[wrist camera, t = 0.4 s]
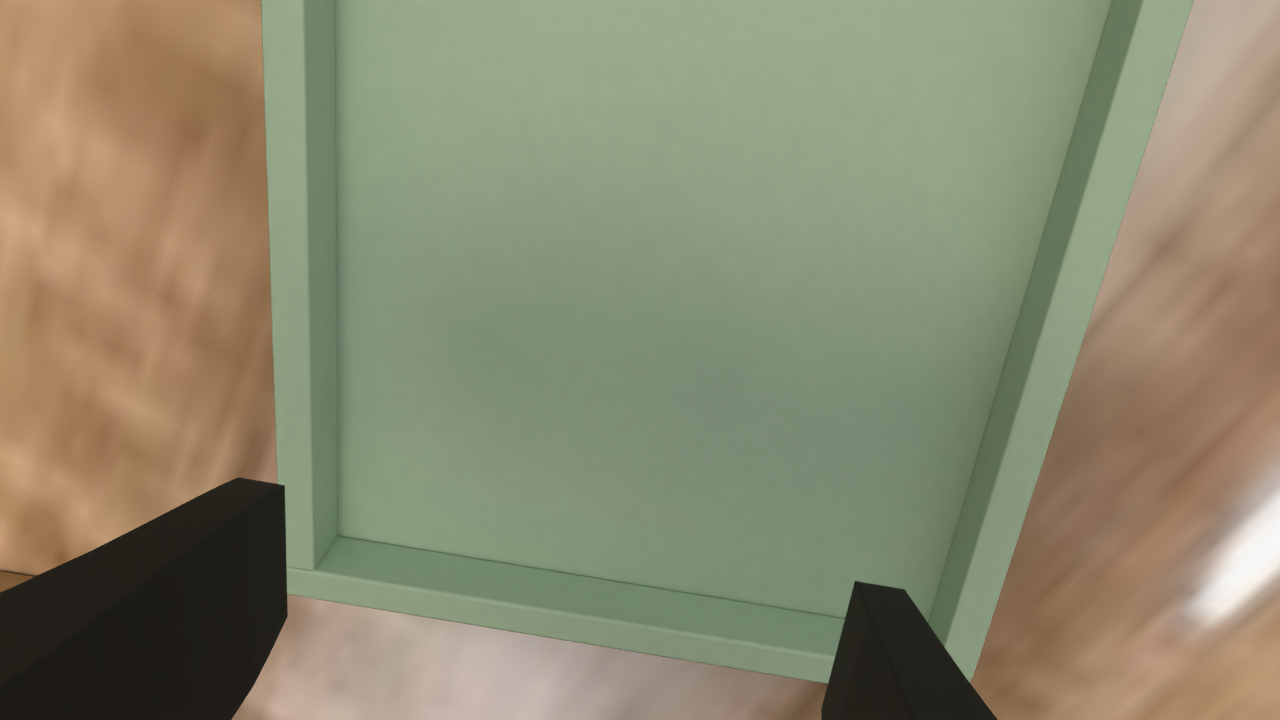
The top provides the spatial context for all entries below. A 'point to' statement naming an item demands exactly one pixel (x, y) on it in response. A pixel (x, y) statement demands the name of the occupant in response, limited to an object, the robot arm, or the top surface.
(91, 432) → the top surface
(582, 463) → the tray
